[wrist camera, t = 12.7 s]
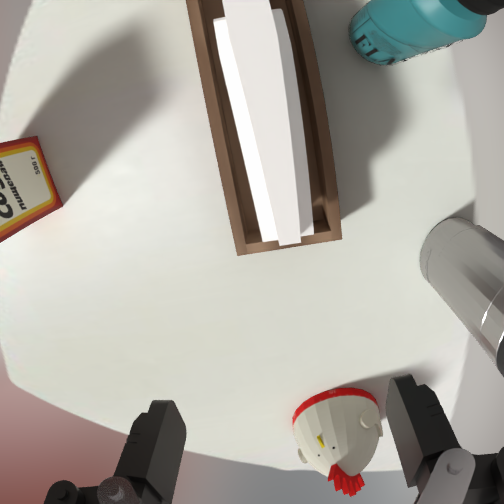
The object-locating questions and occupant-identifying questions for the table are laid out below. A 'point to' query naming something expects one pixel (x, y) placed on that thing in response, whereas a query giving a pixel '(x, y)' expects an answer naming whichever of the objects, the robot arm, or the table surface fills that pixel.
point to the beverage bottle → (415, 26)
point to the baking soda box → (24, 186)
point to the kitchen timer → (338, 435)
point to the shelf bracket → (267, 116)
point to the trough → (226, 136)
